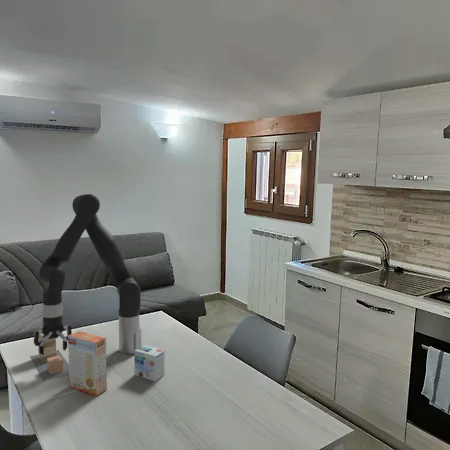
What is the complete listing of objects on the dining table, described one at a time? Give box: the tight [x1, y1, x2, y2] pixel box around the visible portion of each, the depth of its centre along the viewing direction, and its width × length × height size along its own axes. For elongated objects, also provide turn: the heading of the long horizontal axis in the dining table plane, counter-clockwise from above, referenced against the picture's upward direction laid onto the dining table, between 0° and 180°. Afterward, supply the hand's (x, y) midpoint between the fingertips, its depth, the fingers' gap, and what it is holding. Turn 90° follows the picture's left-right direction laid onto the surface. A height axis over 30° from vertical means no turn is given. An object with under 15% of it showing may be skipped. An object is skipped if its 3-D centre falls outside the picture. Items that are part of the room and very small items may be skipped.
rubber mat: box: [29, 349, 69, 382], centre depth 181 cm, size 26×12×1 cm, turn 35°
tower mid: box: [38, 333, 57, 348], centre depth 186 cm, size 6×6×6 cm
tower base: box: [37, 345, 57, 362], centre depth 186 cm, size 6×6×6 cm
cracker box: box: [67, 330, 108, 397], centre depth 162 cm, size 14×6×21 cm, turn 62°
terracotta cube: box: [47, 355, 63, 375], centre depth 176 cm, size 5×5×5 cm
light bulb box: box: [133, 344, 166, 382], centre depth 174 cm, size 11×7×11 cm, turn 62°
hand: (53, 352), depth 175 cm, fingers open, 8 cm apart
